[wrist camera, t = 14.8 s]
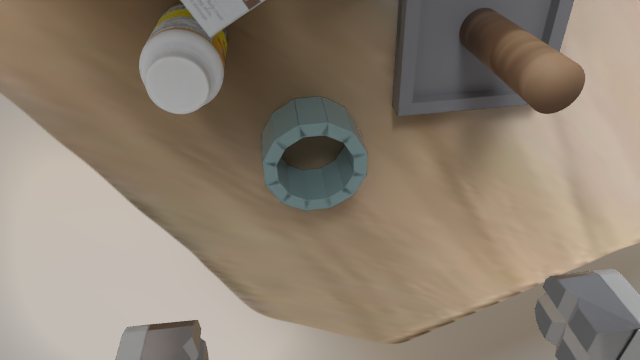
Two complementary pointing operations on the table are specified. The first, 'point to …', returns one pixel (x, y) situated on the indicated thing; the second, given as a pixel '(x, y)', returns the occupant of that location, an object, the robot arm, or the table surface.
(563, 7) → the tray
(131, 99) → the table surface
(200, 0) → the skincare box
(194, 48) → the supplement bottle
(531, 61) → the dowel
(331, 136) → the tube
